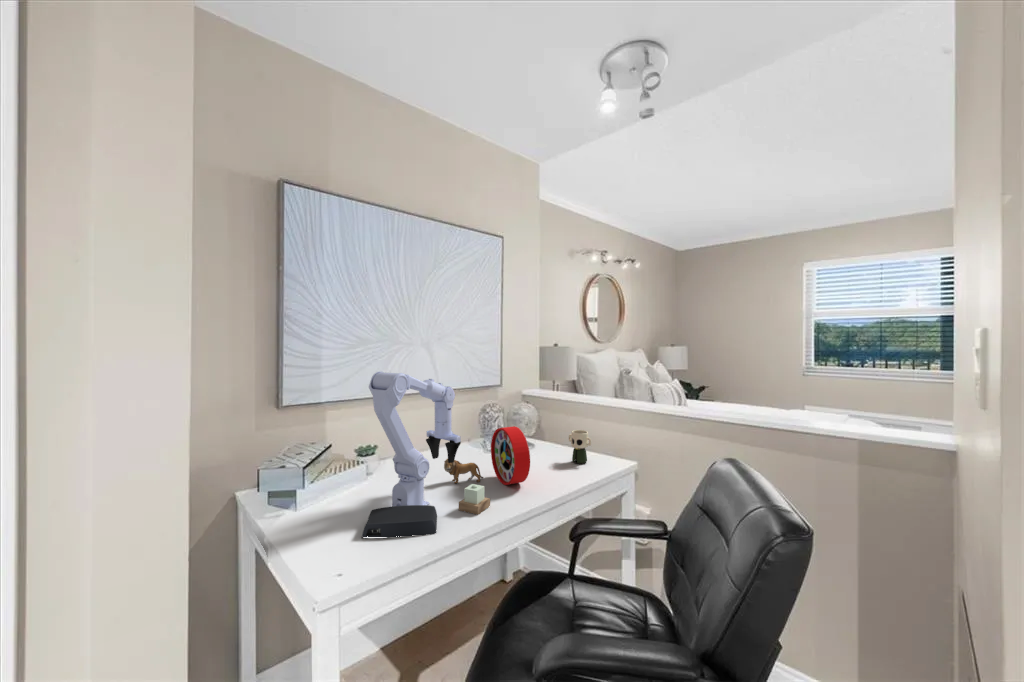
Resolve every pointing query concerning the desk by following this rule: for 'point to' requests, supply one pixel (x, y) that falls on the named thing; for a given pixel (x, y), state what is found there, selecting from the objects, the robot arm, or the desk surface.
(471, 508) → the base brick
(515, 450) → the toy clock
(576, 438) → the character mug
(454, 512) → the desk surface
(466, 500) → the sage brick
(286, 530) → the desk surface
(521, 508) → the desk surface
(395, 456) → the robot arm
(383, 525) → the external hard drive
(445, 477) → the desk surface
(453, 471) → the lion figurine
